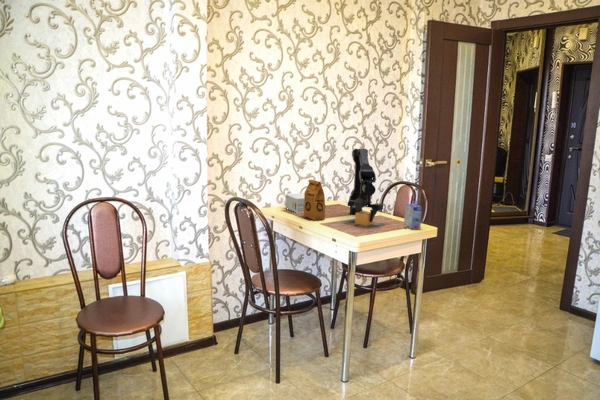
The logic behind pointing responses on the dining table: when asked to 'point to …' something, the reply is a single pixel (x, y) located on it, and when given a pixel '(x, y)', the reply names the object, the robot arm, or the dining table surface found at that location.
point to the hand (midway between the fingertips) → (364, 220)
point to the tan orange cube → (363, 218)
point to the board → (371, 226)
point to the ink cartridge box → (413, 215)
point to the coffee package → (314, 201)
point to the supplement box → (295, 202)
